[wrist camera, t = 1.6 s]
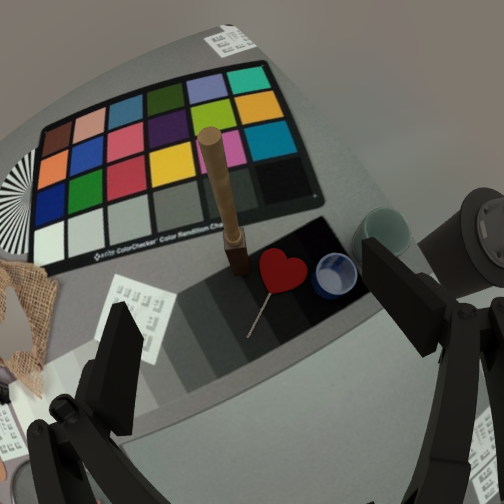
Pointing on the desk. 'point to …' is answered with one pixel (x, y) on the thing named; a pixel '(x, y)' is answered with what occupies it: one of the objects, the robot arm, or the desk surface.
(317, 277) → the bowl
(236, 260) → the block
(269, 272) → the lollipop
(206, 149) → the stick
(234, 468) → the desk surface
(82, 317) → the desk surface
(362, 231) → the cup
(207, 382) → the desk surface
